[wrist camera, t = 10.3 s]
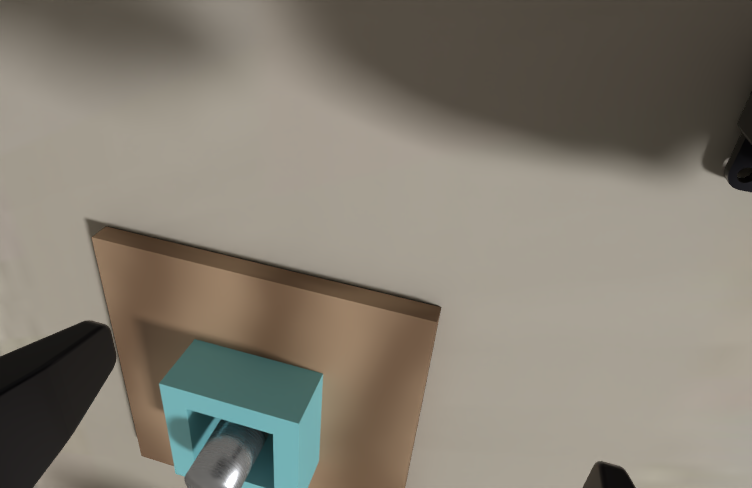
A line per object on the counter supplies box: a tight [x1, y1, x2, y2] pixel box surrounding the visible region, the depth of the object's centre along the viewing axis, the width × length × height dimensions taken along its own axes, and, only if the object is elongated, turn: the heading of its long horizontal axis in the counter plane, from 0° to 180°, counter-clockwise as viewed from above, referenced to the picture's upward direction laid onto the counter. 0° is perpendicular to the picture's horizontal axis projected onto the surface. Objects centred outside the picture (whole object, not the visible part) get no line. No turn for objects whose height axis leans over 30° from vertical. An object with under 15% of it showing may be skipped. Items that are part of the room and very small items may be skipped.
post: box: [185, 419, 270, 488], centre depth 26 cm, size 2×2×5 cm
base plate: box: [92, 227, 441, 488], centre depth 29 cm, size 16×16×1 cm
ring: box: [159, 339, 323, 488], centre depth 27 cm, size 7×7×3 cm
